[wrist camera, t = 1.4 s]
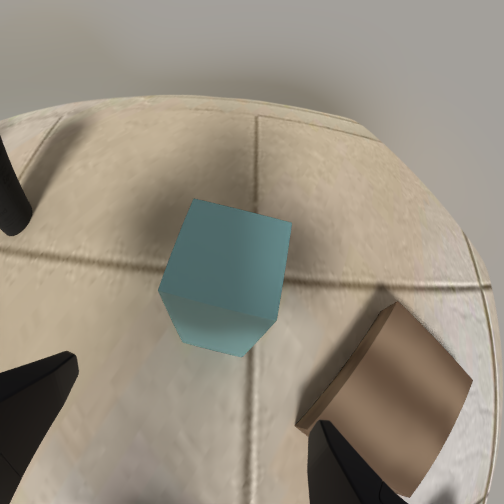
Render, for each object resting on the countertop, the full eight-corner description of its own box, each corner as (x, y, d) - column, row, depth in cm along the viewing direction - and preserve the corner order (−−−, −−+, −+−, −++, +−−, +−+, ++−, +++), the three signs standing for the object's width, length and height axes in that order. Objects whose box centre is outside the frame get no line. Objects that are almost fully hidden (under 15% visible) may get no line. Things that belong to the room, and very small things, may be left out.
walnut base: (391, 492, 16) (409, 497, 13) (294, 425, 19) (307, 430, 16) (454, 384, 22) (472, 380, 19) (380, 311, 25) (397, 300, 23)
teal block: (242, 357, 21) (276, 320, 11) (182, 342, 21) (157, 290, 11) (253, 301, 24) (292, 222, 13) (198, 287, 24) (193, 198, 13)
